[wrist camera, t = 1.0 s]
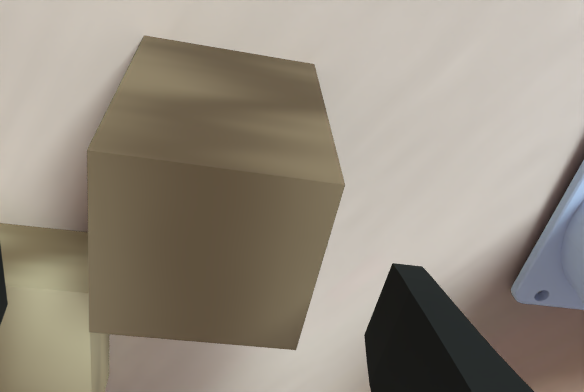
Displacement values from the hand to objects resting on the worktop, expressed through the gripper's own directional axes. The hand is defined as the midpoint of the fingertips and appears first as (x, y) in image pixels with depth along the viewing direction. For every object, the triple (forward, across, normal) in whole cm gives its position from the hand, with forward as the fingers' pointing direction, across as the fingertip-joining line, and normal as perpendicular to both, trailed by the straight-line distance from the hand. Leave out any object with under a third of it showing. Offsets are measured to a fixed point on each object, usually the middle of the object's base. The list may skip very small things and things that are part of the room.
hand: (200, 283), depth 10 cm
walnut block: (+6, 0, 0) cm, 7 cm away
